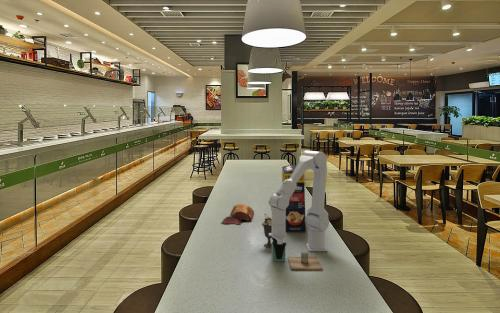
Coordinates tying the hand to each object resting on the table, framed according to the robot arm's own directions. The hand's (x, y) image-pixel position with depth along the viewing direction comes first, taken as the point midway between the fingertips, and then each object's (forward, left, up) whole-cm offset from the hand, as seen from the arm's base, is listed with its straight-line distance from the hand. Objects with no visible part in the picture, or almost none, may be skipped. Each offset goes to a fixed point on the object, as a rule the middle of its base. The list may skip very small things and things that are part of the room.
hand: (278, 255), depth 154 cm
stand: (+6, +10, -1) cm, 12 cm away
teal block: (0, 0, -1) cm, 1 cm away
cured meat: (-62, -18, -2) cm, 65 cm away
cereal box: (-49, +12, -2) cm, 50 cm away
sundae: (-16, -3, -2) cm, 16 cm away
